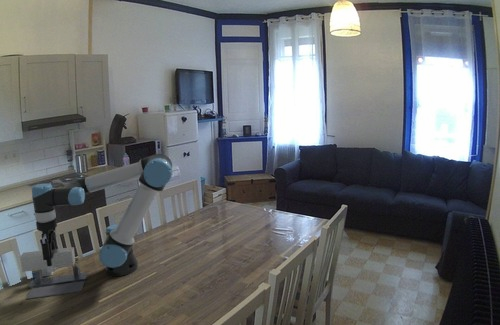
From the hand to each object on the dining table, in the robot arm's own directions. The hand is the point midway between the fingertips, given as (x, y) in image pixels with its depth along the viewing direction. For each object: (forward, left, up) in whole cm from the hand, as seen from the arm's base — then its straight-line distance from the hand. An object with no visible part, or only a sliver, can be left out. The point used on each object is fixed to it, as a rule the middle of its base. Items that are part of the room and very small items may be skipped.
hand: (52, 268), depth 150 cm
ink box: (+10, -17, -11) cm, 22 cm away
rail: (+1, 0, +1) cm, 2 cm away
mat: (0, 0, -11) cm, 11 cm away
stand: (+1, -8, -11) cm, 13 cm away
